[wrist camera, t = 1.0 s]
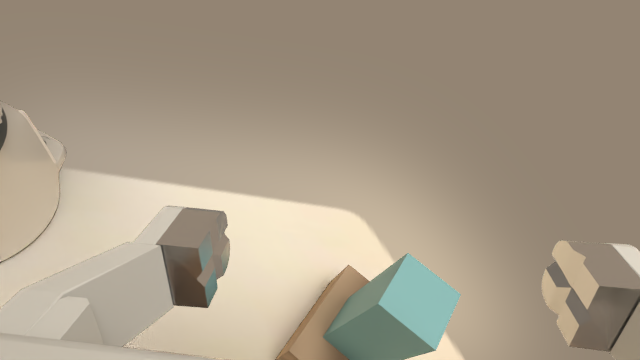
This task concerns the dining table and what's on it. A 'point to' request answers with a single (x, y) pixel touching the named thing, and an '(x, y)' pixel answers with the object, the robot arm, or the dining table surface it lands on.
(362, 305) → the tall teal pillar
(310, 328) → the block
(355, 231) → the dining table surface
